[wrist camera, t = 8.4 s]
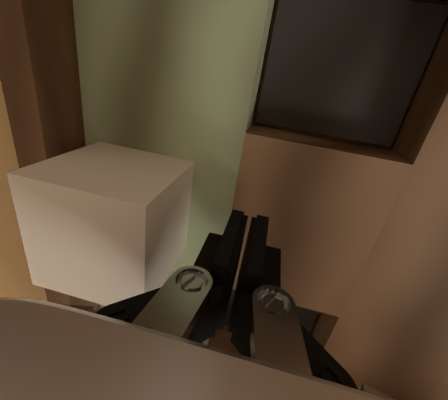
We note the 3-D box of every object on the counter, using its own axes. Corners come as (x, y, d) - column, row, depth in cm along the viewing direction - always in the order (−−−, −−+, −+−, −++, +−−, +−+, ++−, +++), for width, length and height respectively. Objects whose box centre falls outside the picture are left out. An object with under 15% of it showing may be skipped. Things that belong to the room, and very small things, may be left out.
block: (194, 161, 13) (145, 206, 8) (186, 245, 15) (143, 317, 10) (99, 141, 13) (6, 172, 9) (105, 225, 15) (32, 284, 11)
